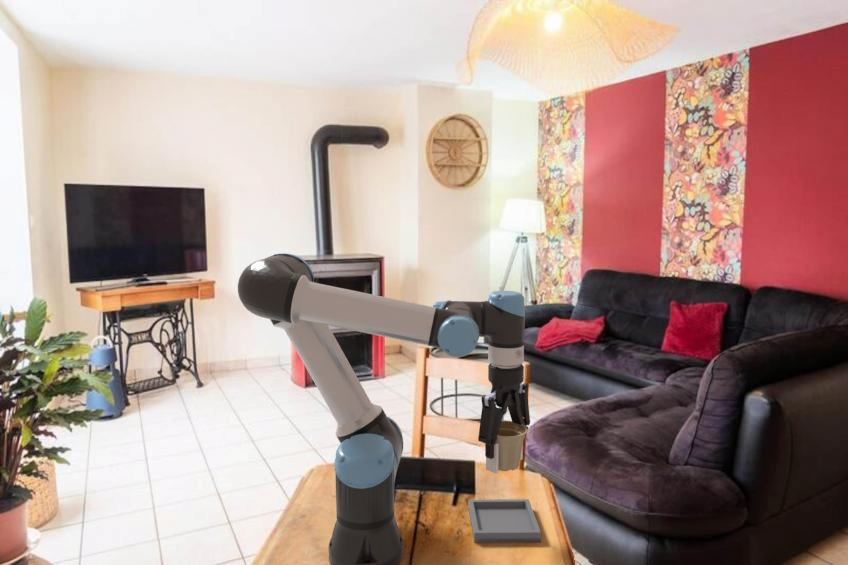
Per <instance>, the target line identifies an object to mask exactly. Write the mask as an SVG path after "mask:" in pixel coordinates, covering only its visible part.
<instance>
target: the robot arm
mask: <svg viewBox="0 0 848 565" xmlns="http://www.w3.org/2000/svg"><path fill="white" fill-rule="evenodd" d="M237 293H238V298H239V300H240V302H241V303H242V305H243V307H244V308H245V309H246V310H247V311H248V312H250V313H251V314H252V315H255V316H258V317H260V318H264V319H268V320H270V322H271V323H272V325H273V326H274V327H276V328H280V329H282V330H284V332H285V333H286V335H287V337H288V338H289V340H290V342H291V344H292V345H293V347H294V349H295V351H296V352H297V354H298V356H299V358H300V360H301V361H302V364H303V365H304V367H305V368H306V371H307V372H308V374H309V376H310V378H311V379H312V381H313V382H314V385H315V386H316V388H317V390H318V391H319V393H320V395H321V397H322V398H323V400H324V402H325V403H326V406H327V407H328V409H329V411H330V413H331V414H332V416H333V418H334V420H335V421H336V423H337V426H336V430H335V436H336V438H337V440H338V441H339V443H340V444H339V445H338V446H337V449H336V453H335V458H334V464H333V465H334V471H335V507H336V508H335V509H336V520H335V524H334V527H333V530H332V535H331V538H330V539H329V543H328V561H329V564H330V565H399V564H400V563H401V561H402V560H403V557H404V540H403V537H402V535H401V534H400V530H399V526H398V523H397V521H396V517H395V481H396V476H397V472H398V468H399V464H400V462H401V458H402V455H403V451H404V437H403V432H402V430H401V428H400V426H399V424H398V423H397V422H396V421H395V420H394V419H393V418H391V417H389V416H387V414H386V412H385V411H384V409H383V407H382V406H381V405H378V404H374V403H372V401H371V400H370V398H369V396H368V394H367V392H366V390H365V389H364V387H363V386H362V384H361V382H360V379H359V378H358V377H357V375H356V373H355V371H354V369H353V368H352V366H351V364H350V362H349V360H348V358H347V357H346V355H345V353H344V351H343V349H342V348H341V346H340V344H339V342H338V340H337V338H336V337H335V335H334V334H333V333H334V332H333V331H332V330H331V328H330V326H331V327H334V328H340V329H345V330H348V331H349V330H350V331H355V332H359V333H364V334H368V335H369V334H370V335H374V336H378V337H379V336H380V337H383V338H388V339H393V340H399V341H402V342H406V343H407V342H408V343H412V344H416V345H417V344H418V345H423V346H427V347H431V348H436V349H441V351H443V352H444V353H445V354H446V355H448V356H450V357H454V358H462V357H466V356H468V355H470V354H471V353H472V352H473V351H474V350H475V348H476V347H477V345H478V342H479V339H480V338H485V337H487V338H488V350H487V351H488V352H487V353H488V355H487V358H488V360H487V361H488V362H489V364H488V370H487V371H488V372H487V373H488V374H487V376H488V377H487V378H488V381H489V383H490V384H491V385H492V386H491V390H490V394H487V395H485V394H483V395H482V396H481V414H480V415H481V416H480V423H479V431H478V438H477V441H478V442H480V443H483V444H485V445H484V446H485V450H484V451H485V452H484V453H485V454H484V455H485V471H488V472H490V473H493V474H498V473H499V470H498V452H499V443H496V440H497V435H498V433H499V429H500V425H501V421H502V420H503V416H504V414H505V413H506V412H507V410H508V412H509V416H510V419H511V420H510V421H512V422H513V423H516V424H519V425H521V424H523V425H524V426H526V427H527V432H528V431H529V426H530V423H531V416H530V406H529V395H528V392H529V384H528V383H525V382H524V379H525V378H524V377H525V376H524V375H525V374H524V373H525V371H524V370H525V366H524V362H525V329H526V328H525V326H526V324H525V322H526V313H525V311H526V309H525V308H526V307H525V297H524V296H523V294H522V293H521V292H519V291H514V290H495V291H492V292H490V293H489V295H488V299H487V300H484V301H482V300H481V301H470V300H469V301H467V300H465V301H464V300H463V301H459V300H454V301H453V300H444V301H442V300H441V301H435V302H434V303H433V305H432V306H431V305H425V304H419V303H415V302H410V301H406V300H400V299H396V298H390V297H387V296H380V295H376V294H373V293H367V292H363V291H357V290H353V289H347V288H343V287H337V286H333V285H328V284H323V283H318V282H315V276H314V273H313V270H312V267H311V266H310V265H309V263H308V262H307V261H306V260H304V259H303V258H302V257H300V256H298V255H295V254H291V253H285V252H284V253H275V254H273V255H270V256H268V257H266V258H263V259H259V260H256V261H253V262H252V263H250V264H249V265H247V266H246V267H245V268H244V269H243V271H242V272H241V274H240V277H239V278H238V283H237ZM491 437H492V438H491ZM523 444H524V443H523ZM523 444H522V450H521V456H520V461H522V460H523V458H524V456H523V455H524V454H523V452H524V451H523V450H524V445H523Z"/></svg>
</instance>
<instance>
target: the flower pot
mask: <svg viewBox="0 0 848 565" xmlns="http://www.w3.org/2000/svg"><path fill="white" fill-rule="evenodd" d="M526 426H527V425H526ZM526 426H524V425H523V424H521V425H519V424H516V423H513V422H512V420H503V419H502V421H501V425H500V429H499V433H498V435H497V440H496V443H499V452H498V471H501V472H508V471H516V470H517V469H518V468H519V466H520V461H521V460H520V456H521V450H522V444H524V440H525V438H526V434H527V433H528V431H527V427H528V426H527V427H526ZM491 438H492V437H491Z"/></svg>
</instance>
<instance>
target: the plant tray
mask: <svg viewBox="0 0 848 565" xmlns="http://www.w3.org/2000/svg"><path fill="white" fill-rule="evenodd" d="M468 508H469V509H468V514H469V518H470V520H469V521H470V524H471V530H472V531H471V533H472V536H473V543H476V544H477V543H486V544H487V543H541V540H542V537H541V535H542V532H541V529H540V526H539V524H538V520H537V518H536V516H535V513H534V510H533V508H532V504H531V503H530V499H529V498H527V499H526V498H525V499H524V498H520V499H519V498H518V499H517V498H515V499H514V498H513V499H511V498H510V499H499V498H498V499H468Z"/></svg>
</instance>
